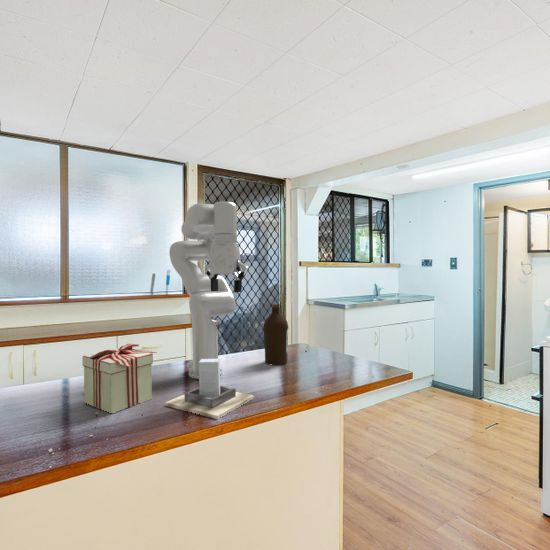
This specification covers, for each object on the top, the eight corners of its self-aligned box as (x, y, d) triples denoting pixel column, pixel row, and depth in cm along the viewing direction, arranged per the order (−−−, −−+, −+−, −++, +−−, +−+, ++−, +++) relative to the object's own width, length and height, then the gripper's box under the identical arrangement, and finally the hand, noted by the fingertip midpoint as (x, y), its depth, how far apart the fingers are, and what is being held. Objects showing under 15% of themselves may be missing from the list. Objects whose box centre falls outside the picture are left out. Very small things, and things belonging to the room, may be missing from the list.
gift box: (120, 417, 108) (119, 356, 107) (79, 405, 116) (77, 349, 116) (165, 398, 122) (164, 344, 122) (125, 388, 131) (124, 339, 131)
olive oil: (266, 366, 157) (265, 305, 156) (261, 360, 167) (261, 302, 166) (291, 364, 159) (291, 304, 158) (285, 358, 170) (284, 302, 169)
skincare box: (220, 395, 121) (220, 358, 120) (219, 400, 117) (218, 361, 116) (201, 396, 121) (200, 358, 120) (199, 401, 117) (198, 362, 116)
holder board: (165, 405, 116) (165, 394, 116) (205, 388, 131) (204, 378, 131) (217, 419, 106) (217, 406, 106) (253, 398, 121) (253, 387, 121)
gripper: (197, 240, 128) (198, 291, 129) (240, 238, 119) (240, 293, 120) (212, 241, 134) (213, 289, 135) (253, 239, 126) (253, 291, 126)
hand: (226, 291), depth 128 cm, fingers open, 9 cm apart
